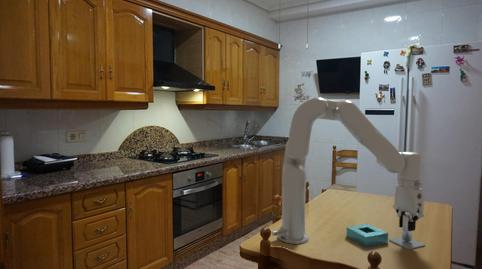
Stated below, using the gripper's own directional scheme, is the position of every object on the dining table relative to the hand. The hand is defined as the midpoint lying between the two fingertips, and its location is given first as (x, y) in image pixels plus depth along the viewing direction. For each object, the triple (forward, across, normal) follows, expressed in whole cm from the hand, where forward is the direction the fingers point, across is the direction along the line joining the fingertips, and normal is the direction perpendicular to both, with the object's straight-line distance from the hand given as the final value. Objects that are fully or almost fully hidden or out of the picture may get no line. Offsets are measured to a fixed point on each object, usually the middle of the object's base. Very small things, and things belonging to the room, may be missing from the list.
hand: (407, 228), depth 123 cm
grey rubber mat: (+6, 0, 0) cm, 6 cm away
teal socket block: (+6, +9, +12) cm, 16 cm away
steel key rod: (+5, 0, 0) cm, 5 cm away
